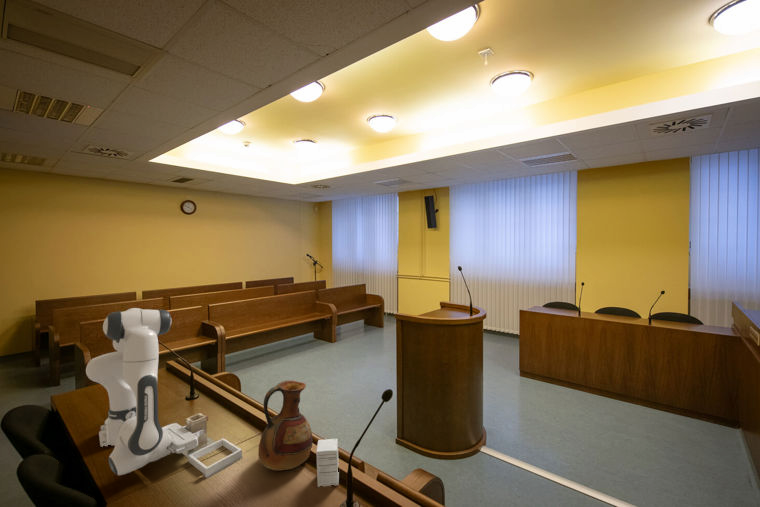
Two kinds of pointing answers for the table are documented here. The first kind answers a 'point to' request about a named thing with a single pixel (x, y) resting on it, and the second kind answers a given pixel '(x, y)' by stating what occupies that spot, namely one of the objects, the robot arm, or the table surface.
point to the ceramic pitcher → (285, 431)
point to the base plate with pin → (209, 442)
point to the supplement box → (327, 462)
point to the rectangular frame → (219, 464)
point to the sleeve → (198, 428)
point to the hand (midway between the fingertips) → (198, 428)
